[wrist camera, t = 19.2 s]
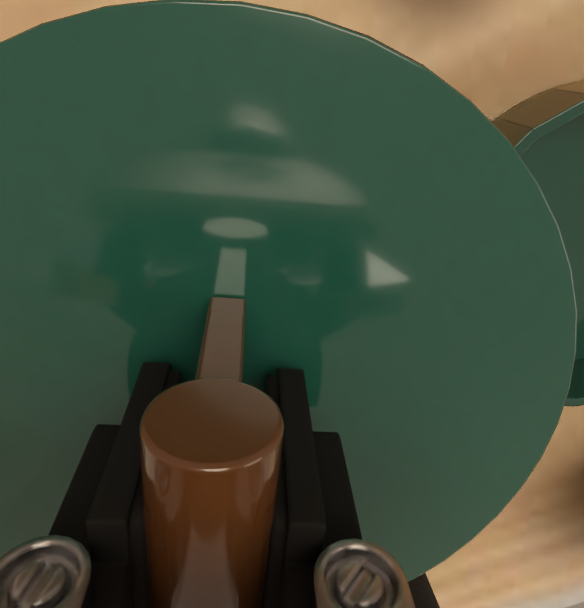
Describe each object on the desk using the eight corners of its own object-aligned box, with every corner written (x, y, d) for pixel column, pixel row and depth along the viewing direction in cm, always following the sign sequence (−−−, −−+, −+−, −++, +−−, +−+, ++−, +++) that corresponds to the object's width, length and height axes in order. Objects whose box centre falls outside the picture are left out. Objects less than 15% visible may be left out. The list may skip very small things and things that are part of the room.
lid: (-56, 594, 15) (-225, 888, 10) (-262, -53, 8) (-1254, -248, 3) (460, 594, 16) (555, 848, 11) (664, 55, 9) (1162, 62, 4)
